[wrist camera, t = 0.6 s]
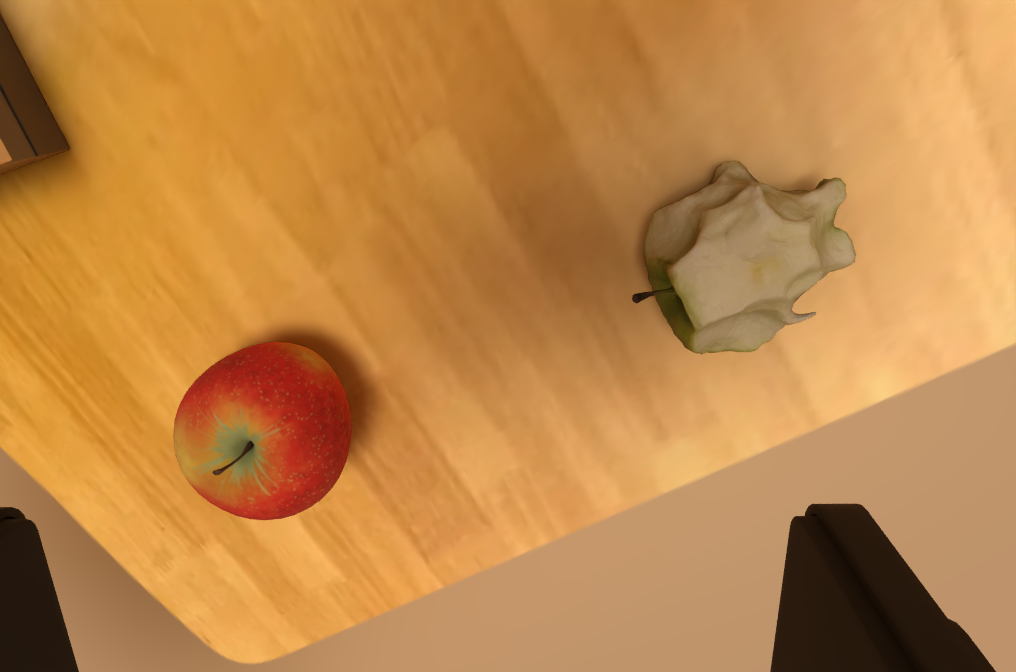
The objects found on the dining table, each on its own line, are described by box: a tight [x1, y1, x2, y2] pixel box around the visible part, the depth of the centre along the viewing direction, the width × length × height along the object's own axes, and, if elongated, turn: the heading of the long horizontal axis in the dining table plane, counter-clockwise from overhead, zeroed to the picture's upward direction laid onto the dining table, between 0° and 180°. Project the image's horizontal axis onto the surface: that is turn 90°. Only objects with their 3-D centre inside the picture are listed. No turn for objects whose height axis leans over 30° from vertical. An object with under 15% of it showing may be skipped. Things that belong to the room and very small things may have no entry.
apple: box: [173, 342, 351, 520], centre depth 36 cm, size 8×8×10 cm
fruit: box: [632, 161, 856, 354], centre depth 34 cm, size 9×9×8 cm
